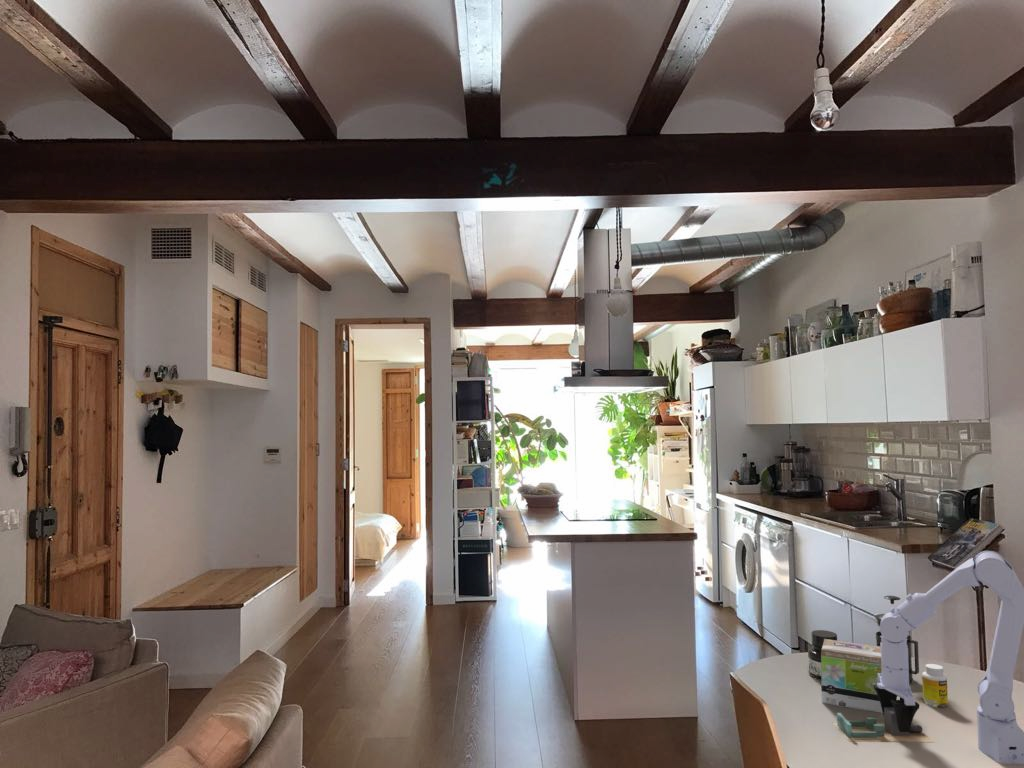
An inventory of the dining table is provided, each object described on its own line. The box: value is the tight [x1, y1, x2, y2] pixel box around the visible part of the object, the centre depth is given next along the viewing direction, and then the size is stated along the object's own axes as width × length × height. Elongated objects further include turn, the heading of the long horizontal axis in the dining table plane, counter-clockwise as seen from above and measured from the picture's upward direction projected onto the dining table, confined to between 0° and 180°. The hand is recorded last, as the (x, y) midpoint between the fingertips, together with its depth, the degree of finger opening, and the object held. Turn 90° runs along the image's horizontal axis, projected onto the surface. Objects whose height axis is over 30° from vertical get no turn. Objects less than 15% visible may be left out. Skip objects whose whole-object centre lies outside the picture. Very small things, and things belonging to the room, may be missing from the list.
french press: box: [874, 595, 920, 685], centre depth 205 cm, size 12×9×23 cm
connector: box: [883, 707, 924, 736], centre depth 170 cm, size 4×8×5 cm, turn 87°
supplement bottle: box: [921, 663, 949, 709], centre depth 186 cm, size 6×6×10 cm
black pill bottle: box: [807, 629, 838, 680], centre depth 208 cm, size 10×9×12 cm
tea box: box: [820, 639, 883, 714], centre depth 188 cm, size 15×10×15 cm, turn 62°
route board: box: [832, 712, 935, 743], centre depth 170 cm, size 10×19×4 cm, turn 87°
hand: (896, 724), depth 170 cm, fingers open, 7 cm apart
